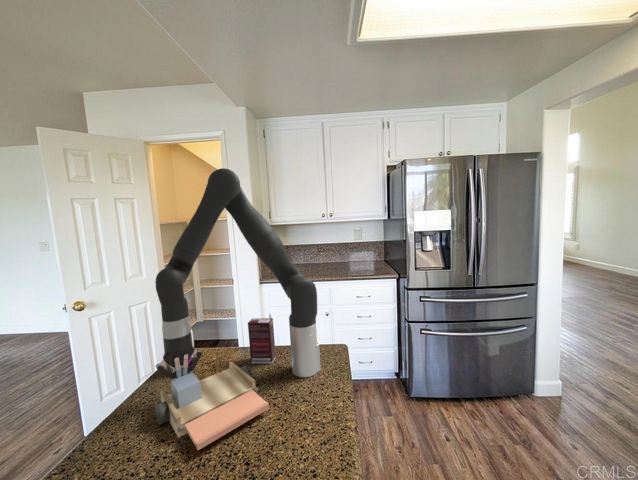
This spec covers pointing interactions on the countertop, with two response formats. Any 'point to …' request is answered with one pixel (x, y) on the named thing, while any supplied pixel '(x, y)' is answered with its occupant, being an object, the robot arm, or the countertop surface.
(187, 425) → the pink rectangular board
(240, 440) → the countertop surface
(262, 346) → the supplement box
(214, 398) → the flatbed
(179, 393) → the blue gray block
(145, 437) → the countertop surface
